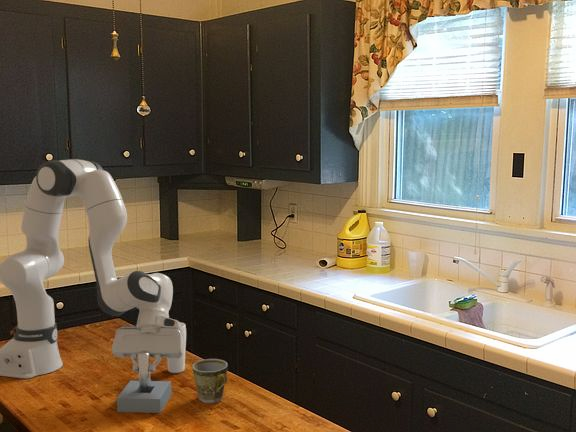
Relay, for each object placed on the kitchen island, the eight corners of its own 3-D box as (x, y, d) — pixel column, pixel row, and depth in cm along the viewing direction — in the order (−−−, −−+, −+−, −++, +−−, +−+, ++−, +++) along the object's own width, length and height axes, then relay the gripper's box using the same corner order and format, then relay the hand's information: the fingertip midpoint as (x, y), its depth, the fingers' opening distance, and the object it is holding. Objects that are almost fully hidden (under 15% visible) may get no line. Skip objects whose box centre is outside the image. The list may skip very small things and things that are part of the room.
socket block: (117, 411, 177) (116, 397, 176) (131, 393, 188) (130, 380, 188) (160, 413, 176) (159, 399, 175) (171, 394, 187) (171, 381, 187)
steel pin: (138, 396, 180) (136, 354, 178) (141, 391, 183) (139, 350, 182) (149, 396, 180) (147, 355, 178) (152, 391, 183) (150, 350, 181)
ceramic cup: (186, 397, 185) (185, 364, 184) (215, 388, 192) (215, 356, 190) (211, 413, 175) (210, 378, 174) (241, 402, 182) (240, 368, 180)
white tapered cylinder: (177, 365, 210) (176, 320, 208) (191, 369, 206) (190, 324, 204) (161, 371, 205) (159, 325, 203) (175, 376, 201) (173, 330, 199)
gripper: (114, 320, 186) (104, 365, 178) (184, 321, 185) (176, 366, 177) (120, 330, 191) (110, 374, 183) (188, 331, 190) (181, 376, 182)
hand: (143, 371), depth 180 cm, fingers closed on steel pin, 3 cm apart
